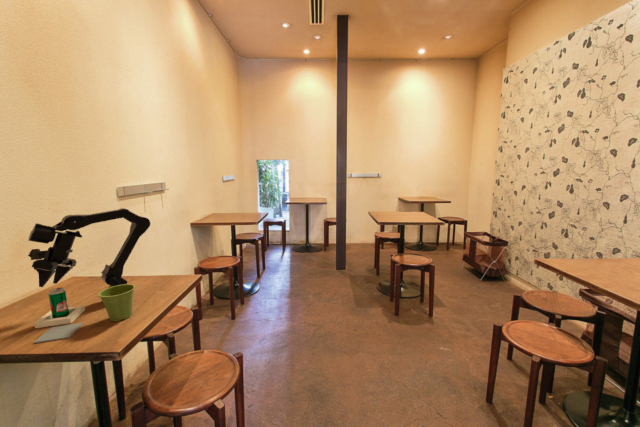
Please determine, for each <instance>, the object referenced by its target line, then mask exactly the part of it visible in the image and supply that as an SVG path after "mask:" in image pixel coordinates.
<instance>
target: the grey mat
mask: <svg viewBox="0 0 640 427" xmlns="http://www.w3.org/2000/svg"><path fill="white" fill-rule="evenodd" d="M83 325H84V322H79V323H70V324H63V325H56V326H50V328H48V329H47V330H46V331H45V332H44V333H43V334H41V335H40V336H39V338H37V339H36V340H34V342H33V343H34V344H39V343H47V342H52V341H60V340H66V339H71V337H73V335H74V334H76V333H77V331H79V329H80V328H81V327H82V326H83Z"/></svg>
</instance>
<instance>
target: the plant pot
mask: <svg viewBox="0 0 640 427" xmlns="http://www.w3.org/2000/svg"><path fill="white" fill-rule="evenodd" d="M135 288H136V286H135V284H132V283H131V284H130V283H127V284H123V285H117V286H113V287H110V288H108V287H107V288H105V289H102V290H101V291H99V292H98V294H97V296H98V298H99V297H100V299H101V301H102V302H103V304H104V308H105V311H106V313H107V315H108V318H109V320H110V321H111V322H120V321H122V320H127V319H129V318H130V317H131V316H132V315H133V299H134V291H135Z"/></svg>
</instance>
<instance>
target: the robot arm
mask: <svg viewBox="0 0 640 427" xmlns="http://www.w3.org/2000/svg"><path fill="white" fill-rule="evenodd" d="M118 219H119V220H120V219H124V220H126V221H128V222H130V223H131V224H130V227H129V233H128V235H127V237H126V238H125V241H124V242H123V244H122V245H121V247H120V250H119V251H118V253H117V254H116V256H115V258H114V260H113V261H112V263H111V264H105V266H104V269H103V270H102V271H101V272H100V273H101V277H100V278H101V280H102V281H103V282H105V283H104V284H106V285H108V287H107V288H110V287H113V286H117V285H123V284H128V280H127V279H125V278H124V277H123V272H124V267H125V264H126V262H127V261H128V259H129V257H130V255H131V254H132V252H133V250H134V248H135V246H136V244H137V242H138V240H139V239H140V237H141V236H143V234H145V233H146V232H147V230H149V228H150V227H151V220H150V219H149V218H147V217H145V216H140V215H138V214H136V213H134V212H132V211H130V210H129V209H127V208H125V207H124V208H123V207H122V208H118V209H114V210H108V211H102V212H96V213H90V214H68V215H67V214H66V215H65V216H63V218H62V219H61V221H59V222H58V223H56V224H54V225H53V226H51V225H44V224H41V223H35V224H34V225H33V228H32V230H30V233H29V237H28V242H35V243H39V244H41V243H42V244H49V243H53V245H52V246H49V247H48V249H47V250H40V248H34V249H33V248H32V249H30V251H29V252H28V253H29V254H28V257H30V261H33V262H32V265H31V268H33V269H34V270H35V271H36V272H37V273H38V287H39V288H43V287H44V286H45V285H46V284H47V283H48V282H49V281H50V279H51V277H53V275H54V277H53V282H52V283H53V284H54V285H55V284H58V283H59V282H60V281H61V280H62V279H63V278H64V277H65V275H67V274H68V273H69V272H70V271H71V270H72V269H74V267H76V265H77V260H76V259H74V258H70V253H73V251H74V250H73V249H72V247H73V246H74V242H75V240H76V238H83V235H82V234H81V232H80V229H82V228H85V227H88V226H90V225H92V224H98V223H101V222H102V223H103V222H107V221H114V220H118Z"/></svg>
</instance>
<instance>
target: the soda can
mask: <svg viewBox="0 0 640 427" xmlns="http://www.w3.org/2000/svg"><path fill="white" fill-rule="evenodd" d="M47 296H48V299H49V300H48V301H49V306H50V311H51V313H52V319H54V318H61V317H67V316H68V315H69V308H70V307H69V304H68V303H69V302H68V297H67V291H66V289H65V288H64V287H55V288H52V289H50V290H49V291H48V294H47Z"/></svg>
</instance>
